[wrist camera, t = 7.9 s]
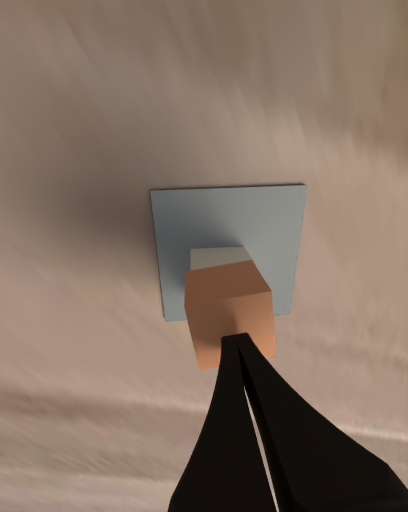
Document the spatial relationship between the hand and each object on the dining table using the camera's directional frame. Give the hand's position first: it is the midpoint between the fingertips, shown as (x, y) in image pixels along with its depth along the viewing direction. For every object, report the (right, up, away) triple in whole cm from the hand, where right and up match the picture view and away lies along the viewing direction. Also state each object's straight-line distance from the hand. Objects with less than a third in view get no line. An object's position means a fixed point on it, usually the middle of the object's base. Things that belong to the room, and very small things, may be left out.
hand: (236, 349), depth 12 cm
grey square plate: (0, +5, +8) cm, 9 cm away
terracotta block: (0, +2, +4) cm, 5 cm away
